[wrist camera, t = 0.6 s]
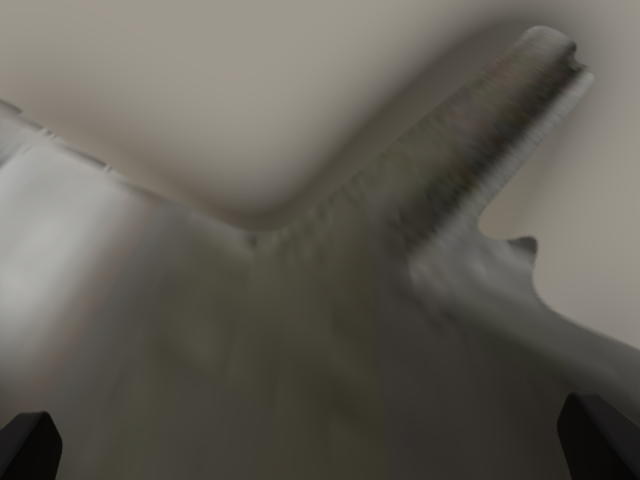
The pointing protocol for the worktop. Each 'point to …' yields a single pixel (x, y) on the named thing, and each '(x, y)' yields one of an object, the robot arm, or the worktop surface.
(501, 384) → the worktop surface
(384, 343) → the worktop surface
